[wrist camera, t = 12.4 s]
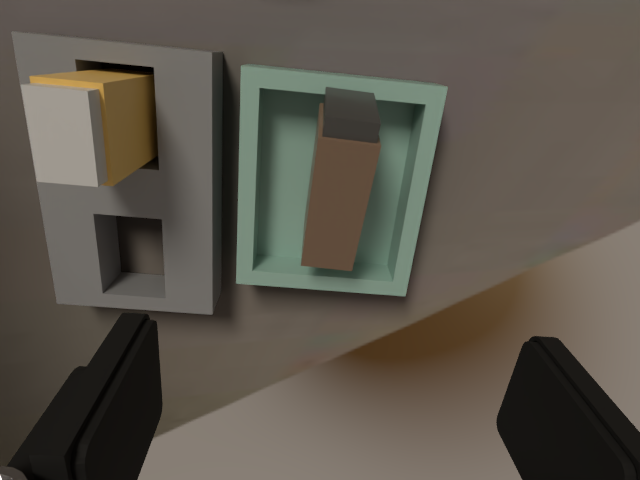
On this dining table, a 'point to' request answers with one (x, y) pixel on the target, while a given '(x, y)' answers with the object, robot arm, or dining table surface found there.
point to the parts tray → (295, 167)
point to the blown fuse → (340, 178)
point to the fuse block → (140, 182)
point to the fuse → (91, 125)
